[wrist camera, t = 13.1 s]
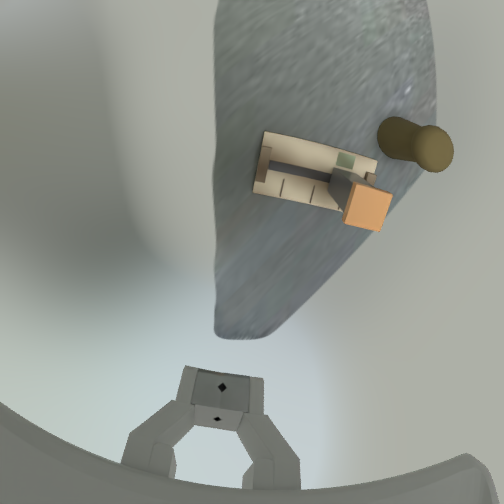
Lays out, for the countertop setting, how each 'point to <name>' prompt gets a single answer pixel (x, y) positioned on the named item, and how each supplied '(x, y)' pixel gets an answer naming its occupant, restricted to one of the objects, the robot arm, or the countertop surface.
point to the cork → (416, 143)
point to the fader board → (305, 169)
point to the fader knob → (359, 200)
